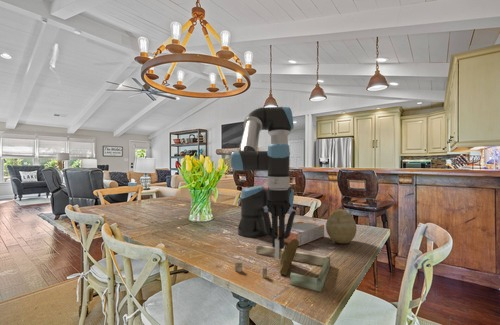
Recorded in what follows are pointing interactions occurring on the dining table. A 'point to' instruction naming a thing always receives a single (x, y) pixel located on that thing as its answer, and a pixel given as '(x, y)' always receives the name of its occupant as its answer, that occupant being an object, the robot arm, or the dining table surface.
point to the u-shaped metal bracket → (295, 278)
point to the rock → (288, 256)
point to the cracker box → (304, 232)
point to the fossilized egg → (341, 226)
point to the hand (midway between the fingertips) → (278, 257)
